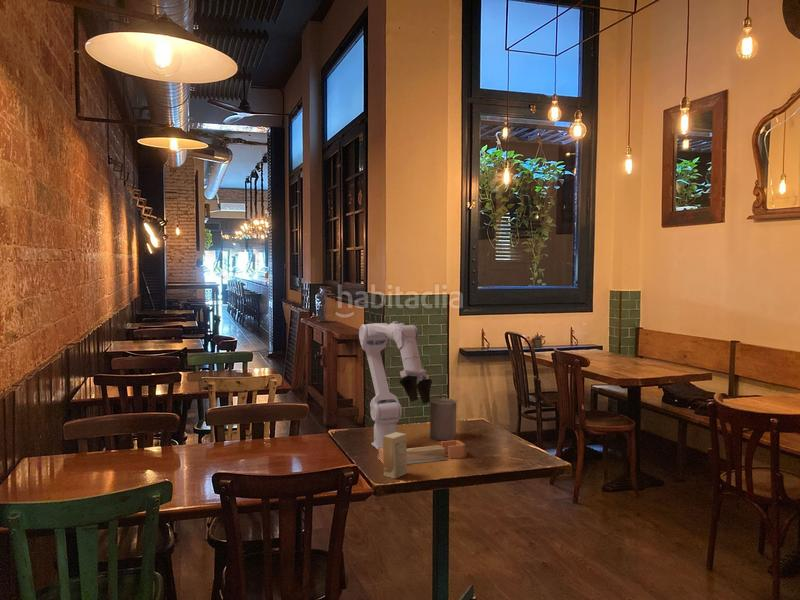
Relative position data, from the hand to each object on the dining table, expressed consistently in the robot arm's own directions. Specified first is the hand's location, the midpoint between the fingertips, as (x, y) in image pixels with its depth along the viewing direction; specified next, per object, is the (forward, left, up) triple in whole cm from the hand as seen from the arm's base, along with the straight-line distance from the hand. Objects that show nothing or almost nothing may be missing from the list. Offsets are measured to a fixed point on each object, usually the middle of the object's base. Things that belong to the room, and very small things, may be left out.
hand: (420, 401), depth 194 cm
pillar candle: (-31, +21, -20) cm, 43 cm away
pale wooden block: (-8, +4, -21) cm, 23 cm away
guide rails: (-8, 0, -20) cm, 22 cm away
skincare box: (+6, -10, -20) cm, 24 cm away
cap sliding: (-8, -7, -20) cm, 23 cm away
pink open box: (-8, +14, -20) cm, 26 cm away
